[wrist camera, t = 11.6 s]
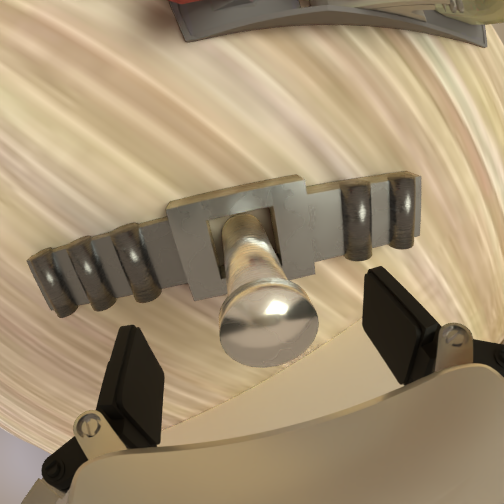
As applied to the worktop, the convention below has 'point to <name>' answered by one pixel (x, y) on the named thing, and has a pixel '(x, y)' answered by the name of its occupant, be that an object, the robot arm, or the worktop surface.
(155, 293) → the knobbed grey strip
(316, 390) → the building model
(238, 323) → the pin
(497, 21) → the hand plane
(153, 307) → the worktop surface
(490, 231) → the worktop surface
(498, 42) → the worktop surface
